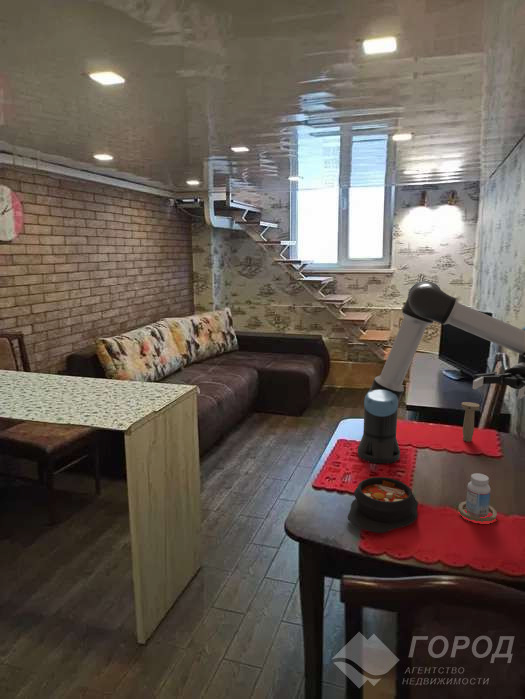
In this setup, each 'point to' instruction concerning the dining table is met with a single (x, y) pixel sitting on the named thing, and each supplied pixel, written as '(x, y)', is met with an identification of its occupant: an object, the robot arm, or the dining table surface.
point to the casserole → (382, 505)
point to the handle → (469, 420)
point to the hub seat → (463, 507)
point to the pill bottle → (478, 495)
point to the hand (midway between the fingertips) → (496, 389)
